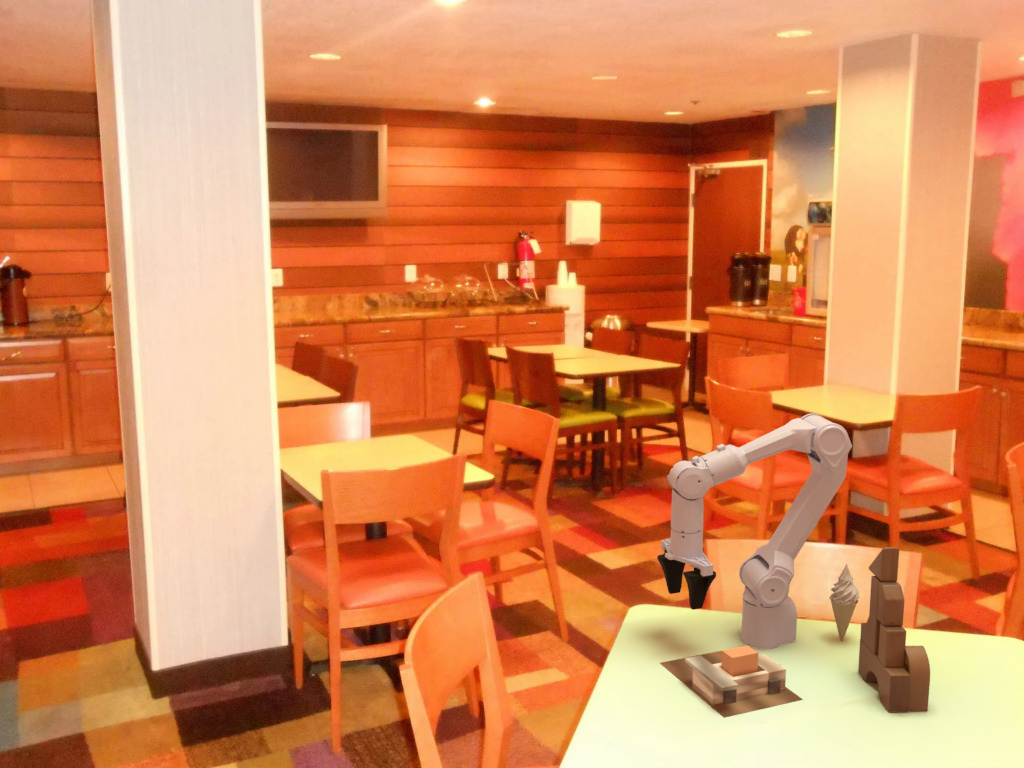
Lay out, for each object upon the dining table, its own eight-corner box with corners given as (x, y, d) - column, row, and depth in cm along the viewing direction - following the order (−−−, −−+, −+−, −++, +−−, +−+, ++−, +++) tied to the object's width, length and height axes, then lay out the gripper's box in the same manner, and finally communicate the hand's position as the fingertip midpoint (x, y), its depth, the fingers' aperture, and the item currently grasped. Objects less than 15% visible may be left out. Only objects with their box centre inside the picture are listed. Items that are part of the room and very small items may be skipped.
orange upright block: (746, 675, 160) (747, 645, 159) (757, 683, 157) (758, 652, 156) (721, 681, 158) (721, 650, 157) (731, 689, 155) (732, 658, 154)
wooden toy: (930, 712, 152) (941, 563, 147) (888, 712, 152) (898, 563, 147) (892, 667, 167) (901, 530, 162) (854, 667, 167) (862, 531, 162)
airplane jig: (732, 653, 172) (733, 627, 172) (802, 705, 154) (804, 675, 153) (659, 668, 167) (660, 640, 166) (723, 723, 149) (724, 693, 148)
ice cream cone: (859, 646, 175) (864, 568, 172) (832, 646, 175) (836, 568, 172) (850, 634, 180) (855, 558, 177) (823, 634, 180) (827, 558, 177)
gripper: (647, 519, 176) (646, 589, 178) (689, 544, 163) (687, 618, 165) (680, 515, 178) (679, 583, 181) (724, 538, 165) (722, 612, 167)
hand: (685, 600), depth 173 cm, fingers open, 7 cm apart
